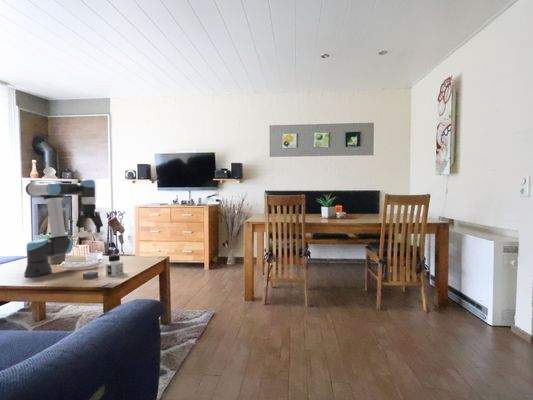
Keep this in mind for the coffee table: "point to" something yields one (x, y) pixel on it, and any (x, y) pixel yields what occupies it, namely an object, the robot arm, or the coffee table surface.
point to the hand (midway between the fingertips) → (89, 237)
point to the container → (114, 266)
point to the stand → (90, 275)
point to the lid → (87, 233)
